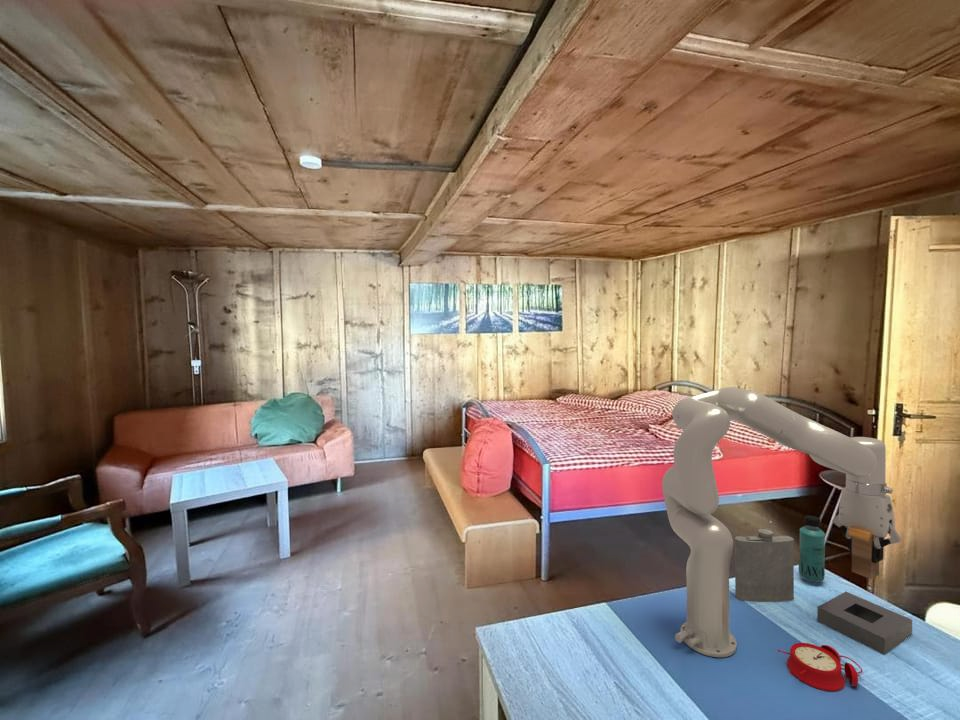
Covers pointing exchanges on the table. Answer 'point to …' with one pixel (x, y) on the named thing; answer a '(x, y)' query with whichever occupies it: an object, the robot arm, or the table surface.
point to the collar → (865, 622)
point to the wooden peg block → (863, 553)
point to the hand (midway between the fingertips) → (865, 556)
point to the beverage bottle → (812, 550)
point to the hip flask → (764, 567)
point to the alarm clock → (820, 666)
